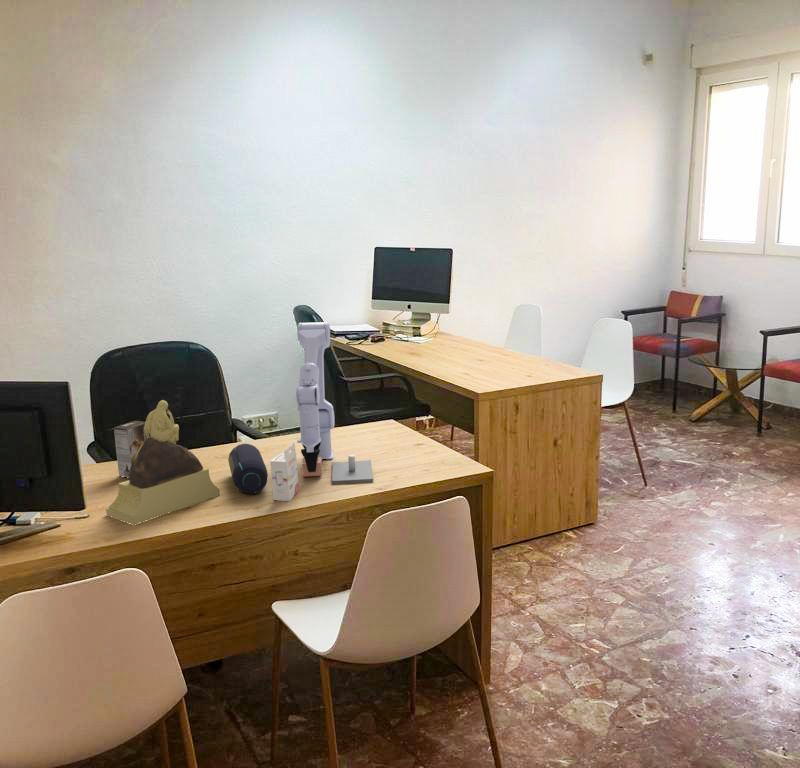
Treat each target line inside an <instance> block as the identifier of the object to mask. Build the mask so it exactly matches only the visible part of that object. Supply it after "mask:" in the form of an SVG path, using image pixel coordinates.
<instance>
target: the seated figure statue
mask: <svg viewBox="0 0 800 768" xmlns="http://www.w3.org/2000/svg"><path fill="white" fill-rule="evenodd" d="M168 407H169V404H168V402H167V401H166V400H164V399H162V400H160V401H158V404H157V405H156V408H155V409H153V410H152V411H150V412H149V413H148V414H147V416H146V419H145V421H144V422H145V426H144V430H145V434H146V437H147V439H146V441H145V442H144V443H143V444H142V445H141V446H140V448H139V450H138V452H137V456H136V459H135V460H134V462H133V463H132V465H131V467H130V471H129V479H128V480H125V481H122V482H119V483H118V485H117V486H118V493H117V496H116V498H115V499H114V501H113V502H112V503H111V504H110V505H109V506H108V508H105V512H106V516H107V515H109V516H112V517H114V518H113V519H115V518H116V519H115V520H117V519H119V520H118V521H120V520H122V521H125V522H128V523H131V524H133V525H135V524H137V523H139V522H143V521H145V520H149V519H151V518H154V517H157V516H160V515H163V514H166V513H168V512H171V513H173V512H172V511H174V512H176V511H175V510H177V511H179V510H181V509H180V508H182V509H184V507H185V508H188V507H191V506H193V505H195V504H200V503H202V502H204V500H205V501H207V500H210V499H212V497H213V498H215V496H216V497H218V495H219V496H220V495H221V493H220V491H221V489H220V487H219V488H218V486H217V485H215V484H214V483H213V481H212V480H211V475H210V471H209V468H206V467H203V465H202V463H201V462H200V460H199V458H198V457H197V456H196V455H195V454H194V453H193V452H192V451H191V450H189V449H188V448H187V447H184V446H182V445H180V444H177V442H179V437H180V435H179V434H180V433H179V431H180V427H179V424H177V423H175V421H174V416H173V414H172V412H171V410H169V409H168ZM168 415H169V416H168ZM149 433H150V436H151V437H149ZM209 498H210V499H209ZM201 501H202V502H201ZM190 505H191V506H190ZM187 506H188V507H187ZM178 509H179V510H178ZM168 514H169V513H168ZM166 515H167V514H166ZM109 516H108V517H109ZM163 516H164V515H163ZM112 517H111V518H112ZM160 517H161V516H160ZM157 518H158V517H157ZM154 519H155V518H154ZM122 521H121V522H122ZM149 521H150V520H149ZM125 522H124V523H125ZM128 523H127V524H128ZM143 523H144V522H143ZM133 525H132V526H133ZM135 526H136V525H135Z"/></svg>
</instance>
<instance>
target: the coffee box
mask: <svg viewBox="0 0 800 768" xmlns="http://www.w3.org/2000/svg"><path fill="white" fill-rule="evenodd" d="M145 422H146V421H142V420H141V421H140V420H133V421H130V422H127V423H124V424H120V425H118V426H114V427H112V428H113V435H114V443H115V452H116V453H115V454H116V459H117V461H116V462H117V467H118V468H117V470H118V476H124V477H128V478H129V471H130V467H131V465H132V463H133V462H134V460H135V459H136V456H137V452H138V450H139V448H140V446H141V445H142V444H143V443H144V442H145V441H146V439H147V437H146V434H145V430H144V426H145ZM149 437H151V436H150V433H149ZM128 478H127V479H128Z"/></svg>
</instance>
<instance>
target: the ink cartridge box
mask: <svg viewBox="0 0 800 768" xmlns="http://www.w3.org/2000/svg"><path fill="white" fill-rule="evenodd" d="M290 451H291V452H290ZM297 461H298V460H297V452H296V445H295V442H293V443H292V444H291V445H289V446H288V447H287V448H286V449H285V450H284V451H283V452H282V451H281V452H279V453H278V454H277V455H275V457H273V458H272V459H271V460H270V461H269V462H270V463H269V464H270V471H271V472H270V473H271V485H272V497H273V501H274V500H278V501H277V502H280V501H279V500H282V501H281V502H291V500H292V499H293V498H294V497H295V496H294V495H297V494H298V493H299V490H300V489H299V479H298V478H299V477H298V476H299V475H298V462H297Z"/></svg>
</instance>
